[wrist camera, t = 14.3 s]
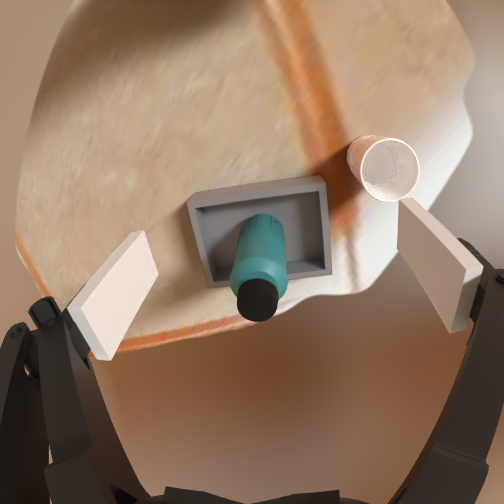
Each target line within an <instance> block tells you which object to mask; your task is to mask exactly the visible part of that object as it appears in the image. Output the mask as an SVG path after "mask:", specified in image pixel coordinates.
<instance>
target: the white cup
mask: <svg viewBox="0 0 504 504" xmlns="http://www.w3.org/2000/svg"><path fill="white" fill-rule="evenodd" d="M347 163H348V166H349V168H350V170H351V171H352V173H353V174H354V176H355V177H356V179H357V180H358V181H359V183H360V184H361V185H362V186H363V187H364V188H365V190H366V191H367V192H368V193H369V194H370V195H371V196H372V197H373V198H375V199H377V200H379V201H382V202H388V203H391V202H397V201H399V199H404V198H405V197H407V196H408V195H409V194H410V193H411V192H412V191H413V189H414V188H415V186H416V184H417V181H418V178H419V162H418V159H417V156H416V154H415V153H414V151H413V150H412V148H411V147H410V146H409V145H407V144H406V143H404V142H403V141H401V140H398V139H393V138H388V137H382V136H371V135H367V136H360V137H358V138H357V139H356V140H354V141H353V142H352V143H351V145H350V147H349V148H348V150H347Z"/></svg>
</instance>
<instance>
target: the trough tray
mask: <svg viewBox="0 0 504 504" xmlns="http://www.w3.org/2000/svg"><path fill="white" fill-rule="evenodd" d="M186 203H187V207H188V211H189V216H190V220H191V224H192V227H193V231H194V235H195V239H196V243H197V247H198V251H199V254H200V258H201V262H202V266H203V269H204V273H205V277H206V280H207V284H208V287H209V288H216V287H226V286H230V275H231V272H232V270H233V265H234V261H235V255H236V249H237V244H238V240H239V238H240V235H239V234H241V232H240V230H242V228H241V227H243V224H244V223H245V222H244V221H246V219H247V220H248V219H249V218H250V216H251V217H252V215H253V216H254V215H255V214H268V215H271V216H273V217H275V218H276V219H277V220H278V221H279V222H280V223H282V227H283V231H284V236H285V237H284V241H285V239H286V241H285V242H286V243H285V247H286V248H285V252H286V254H287V255H286V264H287V265H286V270H287V278H288V280H292V279H301V278H309V277H317V276H326V275H332V259H331V242H330V227H329V214H328V202H327V191H326V183H325V181H324V180H323V178H322V177H321V175H315V176H306V177H298V178H289V179H282V180H274V181H267V182H259V183H252V184H246V185H239V186H233V187H226V188H220V189H214V190H208V191H202V192H196V193H194V194H193V196H192V197H191V198H190V199H189V200H188V201H187V202H186Z"/></svg>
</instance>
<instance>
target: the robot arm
mask: <svg viewBox="0 0 504 504" xmlns="http://www.w3.org/2000/svg"><path fill="white" fill-rule="evenodd" d="M397 249H398V251H399V252H400V254H401V255H402V257H403V258H404V259H405V261H406V262H407V264H408V266H409V267H410V269H411V270H412V272H413V273H414V275H415V276H416V278H417V279H418V281H419V283H420V284H421V286H422V287H423V289H424V290H425V292H426V294H427V296H428V297H429V299H430V300H431V302H432V304H433V305H434V307H435V309H436V310H437V312H438V314H439V316H440V317H441V319H442V321H443V323H444V324H445V326H446V328H447V330H448V332H449V333H453V332H456V331H461V330H465V329H466V327H467V324H468V321H469V317H470V318H471V319H472V321H473V322H474V326H473V329H472V332H471V335H470V337H469V340H468V342H467V348H466V351H465V354H464V357H463V360H462V363H461V365H460V368H459V371H458V374H457V376H456V379H455V381H454V384H453V387H452V389H451V391H450V394H449V396H448V399H447V401H446V403H445V405H444V408H443V410H442V412H441V414H440V417H439V419H438V421H437V423H436V425H435V427H434V429H433V431H432V433H431V435H430V437H429V439H428V441H427V442H426V444H425V446H424V448H423V450H422V452H421V453H420V455H419V457H418V459H417V461H416V462H415V464H414V466H413V467H412V469H411V471H410V472H409V474H408V475H407V477H406V479H405V480H404V482H403V483H402V485H401V486H400V487H399V489H398V490H397V491H396V493H395V494H394V496H393V497H392V498H391V500H390V501H389V503H388V504H475V501H476V499H477V497H478V495H479V493H480V491H481V488H482V486H483V484H484V482H485V479H486V476H487V473H488V467H489V465H487V464H486V457H487V454H488V452H489V449H490V446H491V443H492V440H493V437H494V434H495V431H496V428H497V425H498V421H499V418H500V414H501V411H502V407H503V403H504V269H494V268H493V266H492V265H491V264H490V263H489V262H488V261H487V260H486V259H485V258H484V257H483V256H482V255H480V253H479V252H478V251H477V250H475V248H474V247H473V246H472V245H471V244H470V243H468V242H467V241H465V240H463V239H461V238H455V237H454V236H453V235H452V234H451V233H450V232H449V231H448V230H447V229H446V228H445V227H444V226H443V225H442V224H441V223H440V222H439V221H437V220H436V219H435V218H434V217H433V216H432V215H431V214H430V213H429V212H428V211H426V210H425V209H424V208H423V207H422V206H421V205H420V204H419V203H417V202H416V201H415V200H414V199H413V198H406V199H399V213H398V238H397ZM158 275H159V274H158V271H157V269H156V266H155V263H154V260H153V257H152V254H151V251H150V248H149V245H148V242H147V239H146V236H145V233H144V230H143V231H137V232H131V234H130V235H129V236H128V237H127V238H126V239H125V240H124V241H123V242H122V243H121V244H120V246H119V247H118V248H117V249H116V250H115V251H114V252H113V253H112V254H111V256H110V257H109V258H108V259H107V260H106V261H105V262H104V264H103V265H102V266H101V267H100V268H99V269H98V270H97V272H96V273H95V274H94V275H93V276H92V277H91V279H90V280H89V281H88V282H87V283H86V284H85V285H84V286H83V287H82V288H81V289H80V291H79V293H77V294H76V296H75V297H74V299H72V301H71V302H70V303H69V304H68V306H67V307H66V308H65V309H64V311H63V312H62V313H61V311H60V309H59V308H58V306H57V304H56V302H55V300H54V298H53V297H51V296H49V297H44V298H42V299H40V300H38V301H37V302H35V303H34V304H33V305H32V306H31V307H30V309H29V311H28V313H29V315H30V316H31V318H32V320H33V321H34V323H35V325H36V326H37V328H38V329H36V330H33V331H30V330H29V328H28V326H27V325H26V323H24V322H21V323H18V324H15V325H13V326H12V327H11V328H10V329H9V330H8V332H7V334H6V335H5V338H4V340H3V343H2V346H1V348H0V504H50V498H51V502H52V504H243V503H239V502H236V501H232V500H229V499H226V498H222V497H219V496H216V495H213V494H210V493H207V492H203V491H194V490H187V489H179V488H173V487H167V486H166V488H165V492H164V495H159V496H153V497H151V496H150V495H149V494H148V493H147V492H146V491H145V489H144V488H143V487H142V485H141V484H140V482H139V480H138V478H137V476H136V474H135V472H134V470H133V468H132V466H131V464H130V462H129V460H128V458H127V456H126V453H125V451H124V449H123V447H122V445H121V442H120V440H119V438H118V435H117V433H116V431H115V428H114V426H113V423H112V421H111V419H110V416H109V413H108V411H107V408H106V405H105V402H104V400H103V397H102V394H101V392H100V389H99V386H98V382H97V380H96V376H95V373H94V370H93V367H92V364H91V361H90V360H89V358H88V356H87V355H88V353H89V351H90V350H91V351H92V352H93V354H94V356H95V357H96V359H97V360H110V361H111V360H112V358H113V356H114V354H115V352H116V350H117V348H118V346H119V344H120V342H121V341H122V339H123V337H124V335H125V333H126V331H127V329H128V328H129V326H130V324H131V322H132V320H133V318H134V317H135V315H136V313H137V311H138V309H139V308H140V306H141V304H142V302H143V301H144V299H145V297H146V295H147V294H148V292H149V290H150V288H151V287H152V285H153V283H154V281H155V280H156V278H157V276H158ZM24 367H25V368H26V370H27V371H28V372H29V375H27V374H26V372H25V368H24ZM49 445H50V450H51V455H52V460H53V463H51V464H49ZM253 504H368V503H366V502H362V501H359V500H354V499H350V498H340V495H339V490H334V491H325V492H315V493H301V494H292V495H289V496H284V497H280V498H276V499H272V500H267V501H263V502H258V503H253Z"/></svg>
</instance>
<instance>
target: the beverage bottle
mask: <svg viewBox="0 0 504 504" xmlns="http://www.w3.org/2000/svg"><path fill="white" fill-rule="evenodd" d="M244 222H245V223H244V224H243V227H241V228H242V230H240V232H241V234H239V235H240V238H239V240H238V244H237V249H236V255H235V261H234V265H233V270H232V272H231V275H230V286H231V289H232V291H233V293H234V294H235V296H236V297H237V308H238V311H239V313H240V314H241V315H242V316H243V317H244V318H246V319H247V320H250V321H254V322H261V321H265V320H268V319H270V318H271V317H272V316H273V315H274V314H275V312H276V310H277V304H278V300H279V299H280V298H281V297H282V296H283V295H284V293H285V291H286V289H287V285H288V278H287V270H286V265H287V264H286V255H287V254H286V252H285V248H286V247H285V243H286V242H285V241H286V239H285V241H284V237H285V236H284V231H283V227H282V223H280V222H279V221H278V220H277V219H276V218H275V217H273V216H271V215H268V214H255V215H254V216H253V215H252V217H251V216H250V218H249V219H248V220H247V219H246V221H244Z"/></svg>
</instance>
